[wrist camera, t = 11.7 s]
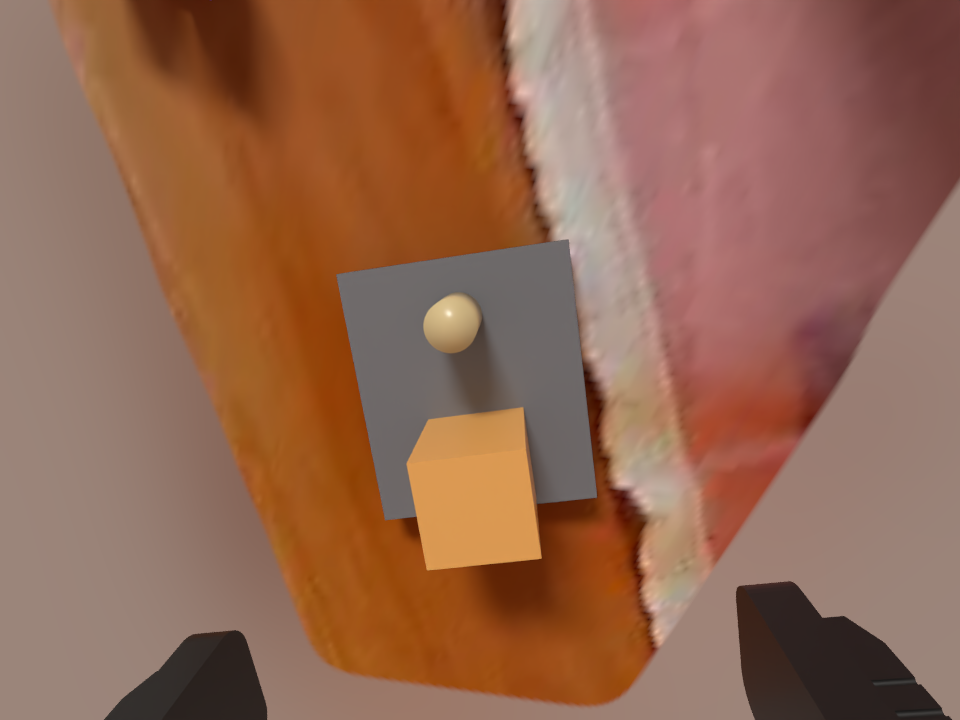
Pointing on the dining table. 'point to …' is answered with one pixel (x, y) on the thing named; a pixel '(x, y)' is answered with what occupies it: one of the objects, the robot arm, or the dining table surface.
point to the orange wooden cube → (475, 490)
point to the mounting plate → (472, 360)
